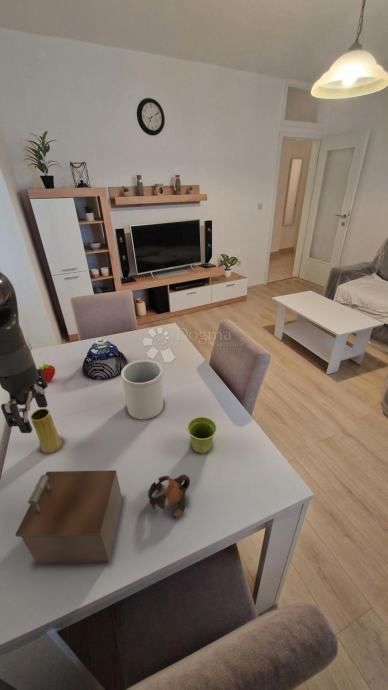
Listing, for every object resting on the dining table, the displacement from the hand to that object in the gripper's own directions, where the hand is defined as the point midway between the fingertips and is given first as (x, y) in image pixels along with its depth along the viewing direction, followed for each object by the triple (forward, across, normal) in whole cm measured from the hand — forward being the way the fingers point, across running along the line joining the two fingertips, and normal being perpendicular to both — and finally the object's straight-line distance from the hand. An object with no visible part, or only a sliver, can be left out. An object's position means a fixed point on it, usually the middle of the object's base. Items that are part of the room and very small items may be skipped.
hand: (35, 418), depth 68 cm
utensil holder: (+26, -31, +22) cm, 45 cm away
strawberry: (+25, -48, -23) cm, 59 cm away
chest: (+25, +13, +11) cm, 30 cm away
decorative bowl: (+26, -59, -1) cm, 64 cm away
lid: (+13, +13, +10) cm, 21 cm away
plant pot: (+26, -11, +42) cm, 51 cm away
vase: (+25, -13, -8) cm, 30 cm away
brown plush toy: (+26, +7, +33) cm, 42 cm away
